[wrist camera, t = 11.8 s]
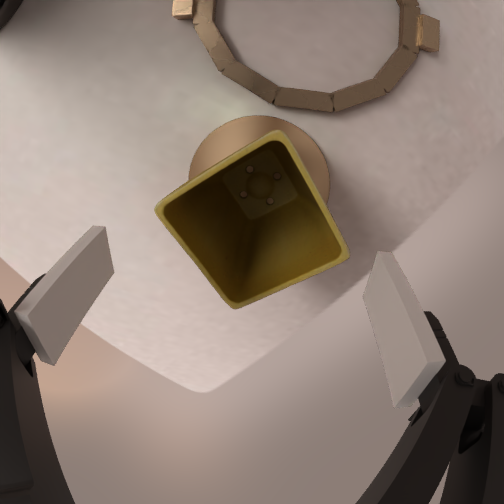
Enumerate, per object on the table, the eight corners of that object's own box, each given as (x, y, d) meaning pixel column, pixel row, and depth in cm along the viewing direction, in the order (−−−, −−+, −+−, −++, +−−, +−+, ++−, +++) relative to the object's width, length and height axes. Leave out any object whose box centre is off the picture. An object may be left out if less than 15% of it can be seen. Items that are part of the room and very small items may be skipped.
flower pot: (331, 204, 25) (353, 259, 17) (245, 248, 28) (232, 313, 20) (280, 114, 22) (282, 126, 14) (190, 168, 25) (149, 208, 17)
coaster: (191, 240, 29) (189, 243, 28) (191, 112, 23) (189, 113, 22) (317, 252, 28) (317, 255, 28) (337, 124, 22) (339, 125, 22)
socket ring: (173, 101, 22) (166, 102, 21) (190, -71, 13) (185, -79, 12) (421, 131, 22) (429, 134, 20) (428, -40, 12) (436, -45, 11)
